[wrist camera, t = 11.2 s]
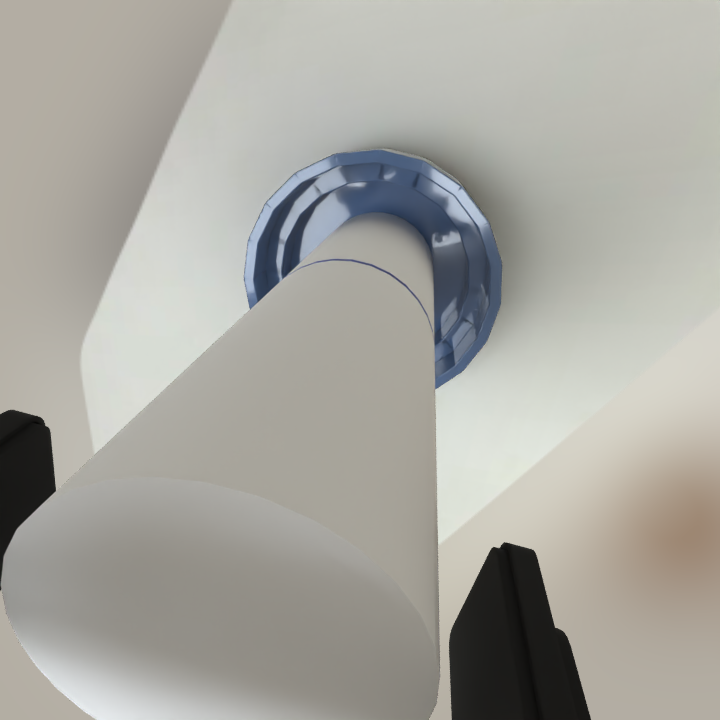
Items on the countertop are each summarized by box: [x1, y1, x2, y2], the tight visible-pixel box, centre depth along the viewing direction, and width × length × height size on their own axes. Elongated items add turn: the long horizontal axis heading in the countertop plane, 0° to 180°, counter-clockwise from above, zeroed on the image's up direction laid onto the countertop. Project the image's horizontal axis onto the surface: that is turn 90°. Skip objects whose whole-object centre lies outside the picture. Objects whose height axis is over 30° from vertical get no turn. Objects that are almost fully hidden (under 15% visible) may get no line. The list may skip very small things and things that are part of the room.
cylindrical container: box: [1, 212, 440, 720], centre depth 19 cm, size 7×7×25 cm
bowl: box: [244, 148, 502, 389], centre depth 28 cm, size 14×14×5 cm
